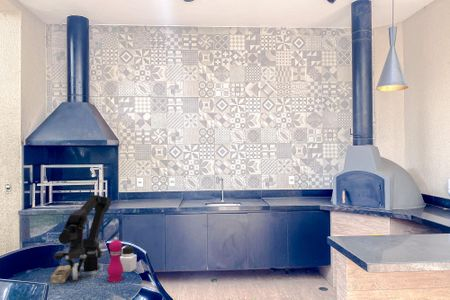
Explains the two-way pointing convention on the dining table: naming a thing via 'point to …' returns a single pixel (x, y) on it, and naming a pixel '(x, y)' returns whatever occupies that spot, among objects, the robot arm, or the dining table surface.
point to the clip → (75, 271)
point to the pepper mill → (115, 261)
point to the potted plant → (128, 259)
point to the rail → (60, 274)
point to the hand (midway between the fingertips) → (75, 272)
